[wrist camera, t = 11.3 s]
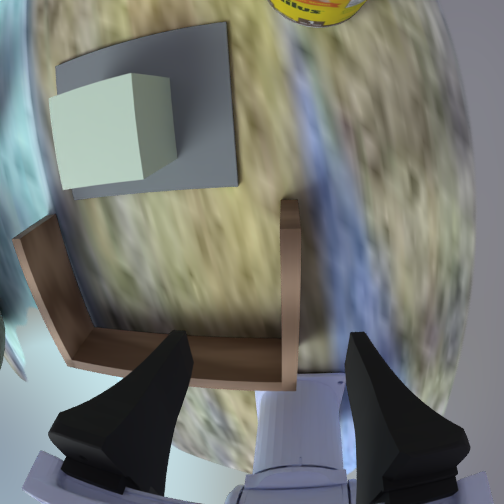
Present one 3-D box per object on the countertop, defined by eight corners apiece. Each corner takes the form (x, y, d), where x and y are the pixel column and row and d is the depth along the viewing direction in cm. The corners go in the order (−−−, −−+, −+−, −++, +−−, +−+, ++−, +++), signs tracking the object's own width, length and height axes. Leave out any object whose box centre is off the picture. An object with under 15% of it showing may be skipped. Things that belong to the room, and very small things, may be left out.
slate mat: (238, 185, 19) (237, 186, 18) (76, 198, 20) (74, 200, 20) (226, 22, 14) (225, 21, 14) (57, 66, 16) (55, 66, 15)
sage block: (177, 158, 18) (143, 179, 14) (107, 167, 19) (62, 190, 14) (169, 77, 16) (131, 72, 11) (98, 94, 16) (48, 98, 12)
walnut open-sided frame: (295, 347, 24) (296, 391, 20) (89, 334, 26) (67, 366, 22) (297, 199, 19) (301, 228, 15) (47, 215, 21) (11, 239, 17)
